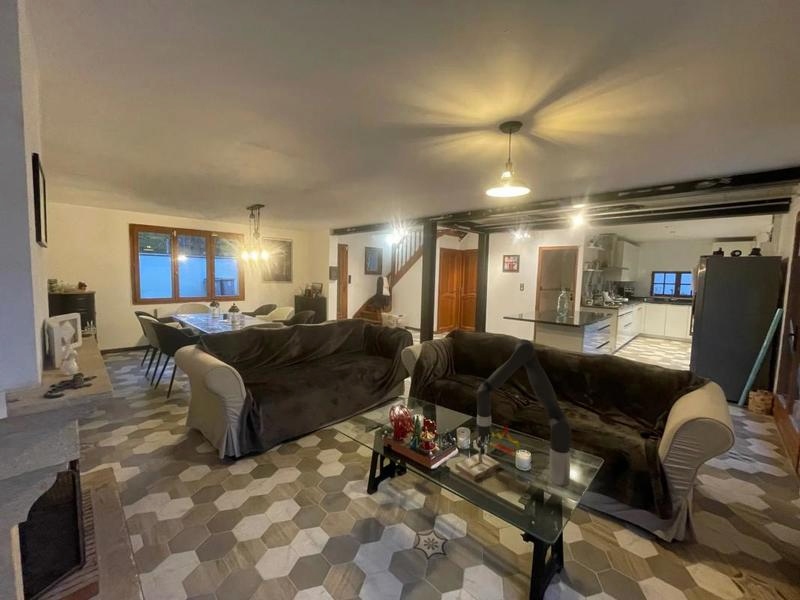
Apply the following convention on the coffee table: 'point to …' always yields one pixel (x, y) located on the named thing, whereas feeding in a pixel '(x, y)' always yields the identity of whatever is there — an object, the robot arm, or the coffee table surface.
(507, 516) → the coffee table surface
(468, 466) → the wooden mallet
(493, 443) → the chart
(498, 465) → the desk tray with supplies
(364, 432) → the coffee table surface
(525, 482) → the coffee table surface
